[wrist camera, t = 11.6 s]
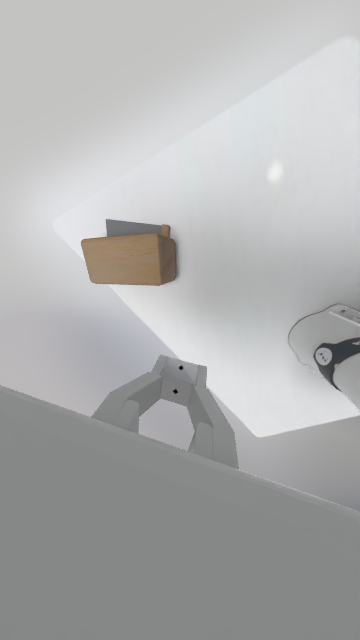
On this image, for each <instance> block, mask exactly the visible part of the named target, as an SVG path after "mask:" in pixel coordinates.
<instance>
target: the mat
mask: <svg viewBox="0 0 360 640" xmlns="http://www.w3.org/2000/svg"><path fill="white" fill-rule="evenodd" d="M106 227H107V237H112V236H123V235H134V234H144V233H155V232H156V233H158V234H161V235H163V236H166V237H168V238H169V234H170V226H168V225H162V226H160V225H151V224H143V223H134V222H126V221H117V220H108V219H106Z"/></svg>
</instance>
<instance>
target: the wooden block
mask: <svg viewBox="0 0 360 640" xmlns="http://www.w3.org/2000/svg"><path fill="white" fill-rule="evenodd" d="M81 246H82V250H83V253H84V257H85V261H86V265H87V269H88V273H89V276H90V280H91V282H92V283H96V284H125V285H158V286H160V285H163V284H165V283H168V282H171V281H174V280H175V278H176V266H175V242H174V240H173V239H171V238H168V237H166V236H163V235H161V234H158V233H156V232H155V233H144V234H134V235H123V236H112V237H101V238H90V239H84V240H82V241H81Z"/></svg>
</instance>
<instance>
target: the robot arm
mask: <svg viewBox="0 0 360 640" xmlns="http://www.w3.org/2000/svg"><path fill="white" fill-rule="evenodd" d="M342 310H343V311H342ZM341 311H342V312H341ZM288 341H289V345H290V347H291V349H292V350H293V351H294V352H295V353H296V354H297V358H298V361H299V362H300V363H301V364H304V365H308V366H309V367H310V368H311V369H312V370H313V371H314V372H315V373H316V374H318V375H319V376H320V377H322V378H325V379H326V380H327V381H328V382H329V383H330V384H331V385H333V386H334V387H335V388H336V389H337V390H339V391H341V392H343V394H344V395H345V396H346V397H347V398H348V399H349V400H350V401H351V402H352V403H353V404H354V405H355V406H356V407H357V408H358V409H359V410H360V311H357V310H354V309H351V308H349V307H346V306H343V305H341V304H336V305H333V306H331V307H329V308H328V309H326V310H325V311H322V312H320V313H316V314H313V315H310V316H308V317H306V318H304V319H302V320H301V321H299V322H298V323H297V324H296V325H295V326H294V327H293V329H292V330H291V332H290V334H289V339H288ZM206 377H207V367H206V366H202V365H197V364H193V363H189V362H185V361H182V360H178V359H175V358H171V357H167V356H164V355H161V356H160V357H159V358H158V360H157V362H156V364H155V366H154V368H153V369H152V371H151V373H150V372H148V373H146V374H144V375H142V376H140V377H138V378H136V379H134V380H133V381H131V382H129V383H127V384H125V385H123V386H121V387H119V388H118V389H116V390H114V391H112V392H110V393H109V395H108V396H107V397H106V399H105V400H104V401H103V403H102V404H101V405H100V406H99V408H98V409H97V411H96V412H95V413H94V414H93V415H92V417H89V416H86V415H83V414H80V413H77V412H75V411H72V410H69V409H66V408H63V407H60V406H57V405H55V404H51V403H49V402H46V401H43V400H40V399H38V398H35V397H32V396H29V395H26V394H23V393H20V392H18V391H15V390H12V389H9V388H6V387H3V386H1V385H0V640H360V512H359V511H356V510H353V509H350V508H348V507H344V506H342V505H339V504H336V503H333V502H331V501H328V500H324V499H322V498H319V497H316V496H313V495H311V494H308V493H305V492H302V491H299V490H296V489H294V488H291V487H288V486H285V485H282V484H279V483H276V482H274V481H271V480H268V479H265V478H262V477H259V476H256V475H254V474H251V473H248V472H245V471H242V470H239V467H238V460H237V451H236V443H235V435H234V431H233V429H232V428H231V426H230V424H229V423H228V421H227V419H226V418H225V416H224V414H223V413H222V411H221V409H220V408H219V406H218V405H217V403H216V401H215V399H214V398H213V396H212V394H211V393H210V391H209V389H206ZM160 398H161V399H164V400H168V401H171V402H175V403H178V404H181V405H184V406H187V408H188V411H189V414H190V417H191V421H192V424H193V427H194V430H195V432H194V435H193V438H192V441H191V444H190V447H189V450H188V451H186V450H183V449H180V448H177V447H174V446H171V445H168V444H165V443H163V442H160V441H157V440H154V439H151V438H149V437H146V436H143V435H140V434H138V427H139V417H140V416H141V415H142V414H143V413H144V412H145V411H146V410H148V409H149V408H150V407H151V406H152V405H153V404H155V403H156V402H157V401H158V400H159V399H160Z"/></svg>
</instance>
